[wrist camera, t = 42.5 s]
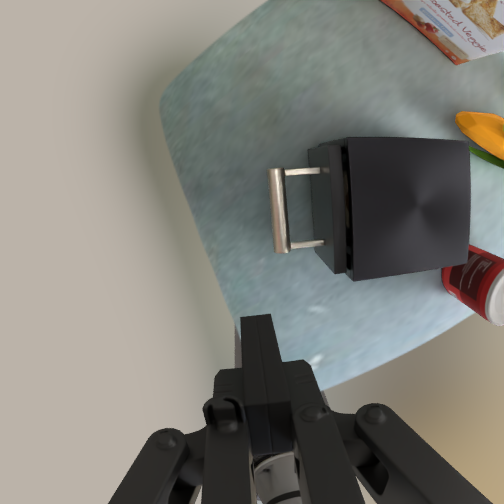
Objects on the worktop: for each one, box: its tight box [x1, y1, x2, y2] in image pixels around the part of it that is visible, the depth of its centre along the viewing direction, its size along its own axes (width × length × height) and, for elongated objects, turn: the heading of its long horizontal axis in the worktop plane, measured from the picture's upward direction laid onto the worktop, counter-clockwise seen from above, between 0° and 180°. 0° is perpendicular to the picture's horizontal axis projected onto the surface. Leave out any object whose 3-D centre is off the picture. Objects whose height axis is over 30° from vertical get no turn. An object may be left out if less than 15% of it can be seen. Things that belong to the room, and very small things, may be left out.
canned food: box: [442, 245, 504, 326], centre depth 33 cm, size 8×8×11 cm
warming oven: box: [319, 137, 471, 281], centre depth 31 cm, size 14×13×10 cm
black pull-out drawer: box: [267, 145, 351, 274], centre depth 31 cm, size 18×11×8 cm, turn 96°
